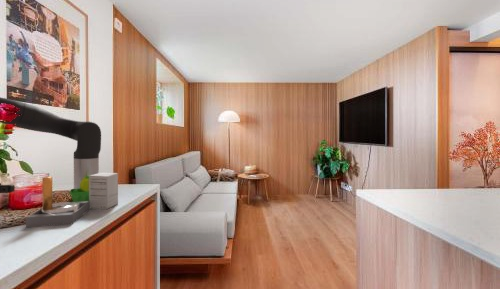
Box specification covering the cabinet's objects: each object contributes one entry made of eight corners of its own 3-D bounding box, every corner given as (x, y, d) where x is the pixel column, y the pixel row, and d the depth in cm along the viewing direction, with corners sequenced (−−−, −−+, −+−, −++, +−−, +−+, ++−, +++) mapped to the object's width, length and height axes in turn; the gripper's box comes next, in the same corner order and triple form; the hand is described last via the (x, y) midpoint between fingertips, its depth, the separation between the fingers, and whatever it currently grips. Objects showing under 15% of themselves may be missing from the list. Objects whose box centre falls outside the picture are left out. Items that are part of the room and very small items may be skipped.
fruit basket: (103, 197, 108) (103, 172, 107) (103, 202, 100) (103, 175, 100) (71, 201, 102) (71, 174, 101) (69, 206, 94) (69, 177, 94)
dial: (67, 206, 89) (67, 172, 88) (86, 209, 85) (86, 174, 84) (34, 214, 79) (33, 176, 79) (52, 218, 76) (52, 179, 75)
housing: (51, 211, 88) (51, 197, 88) (89, 208, 92) (89, 195, 92) (25, 227, 73) (25, 210, 73) (72, 224, 76) (72, 208, 76)
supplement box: (100, 203, 100) (100, 172, 99) (118, 203, 99) (118, 172, 99) (88, 208, 92) (88, 175, 92) (107, 209, 92) (107, 175, 92)
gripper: (-86, 181, 64) (-2, 180, 69) (-43, 173, 76) (25, 173, 82) (-86, 210, 64) (-2, 206, 69) (-43, 197, 77) (25, 195, 82)
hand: (13, 188), depth 75 cm, fingers closed
